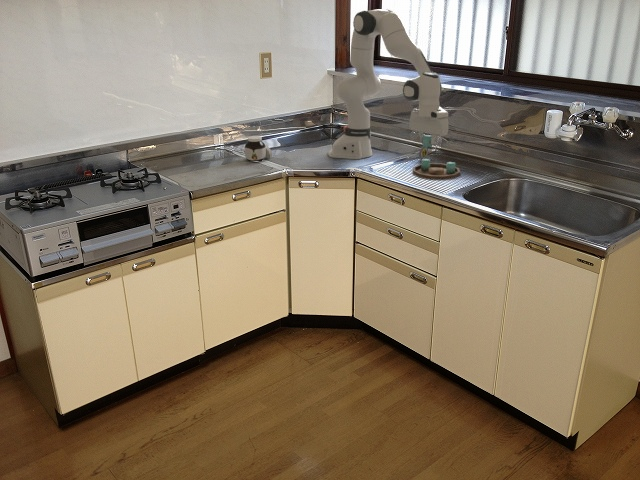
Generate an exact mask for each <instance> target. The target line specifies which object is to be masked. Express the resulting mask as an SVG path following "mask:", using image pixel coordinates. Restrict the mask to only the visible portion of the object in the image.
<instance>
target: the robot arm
mask: <svg viewBox="0 0 640 480" xmlns="http://www.w3.org/2000/svg"><path fill="white" fill-rule="evenodd" d="M352 23H353V32H352V35H351V43H350V56H349V63H350V66H351V67H352V68H354V69H355V72H356V76H352V77H348V78H347V77H346V78H345V79H342V80H340V81H339V82H338V83H337V85H336V93H337V96H338V98H340V100H341V101H342V102H343V103H344V105H345V107H346V111H347V125H344V127H343V134H342V135H341V136H340V137H338V138H337V139H336V140H335V141H333V145H332V149H330V150H329V151H328V152H327V153H328V157H329V158H334V159H335V158H336V159H337V158H338V159H348V160H349V159H350V160H361V159H364V158H368V157H369V158H370V157H372V156H373V151H372V145H371V137H372V136H371V135H372V130H371V111H370V110H369V108H367V107H366V106H365V104H364V99H369V98H373V97H375V96H376V95H379V94H380V93H381V91H382V82H381V80H380V78H379V76H377V75H376V72H375V68H374V56H375V55H374V53H375V52H374V51H375V40H376V37H377V36H378V35H380V36H381V38H382V41H383V44H384V46H385V49H386V50H387V52H388V53H389V55H391V56H392V57H394V58H398V59H401V60H405V61H407V62H409V63H411V65H412V66H413V67H414V68H415V70H416V72H417V74H418V76H417V77H414V78H410V79H407V80H406V81H405V82H404V83H403V88H402V93H403V97H404V99H406V100H407V101H409V102H417V101H418V108H413V109H412V110H411V111H410V117H409V123H408V124H409V125H408V127H409V130H411V131H417V132H418V136H419V139H420V143H421V142H422V143H423V136H424V134H425V133H426V134H430V135H431V136H432V139H431V140H430V142H429V143H430V144H432V145H434V144H435V143H436V142H435V141H436V138H437V137H438V136H440V137H443V136H447V135H448V134H449V124H450V123H449V119H448V117H449V112H448V110H445V109H444V108H442V107H441V106H440V96H441V93H442V88H443V87H442V86H443V85H442V82H441V79H440V75H439V74H438V73H437V72H434V71H433V70H432V67H431V66H430V64H429V62H428V60H427V58H426V57H425V55H424V53H423V51H422V50H421V49H420V47H419V46H418V45H416V43H414V41H413V40H412V38H411V37H410V35H409V33H408V31H407V28H406V26H405V24H404V23H403V20H402V19H401V17H400V16H399V14H397V13H396V12H395V11H393V10H392V9H379V8H378V9H377V8H376V9H372V10H370V9H369V10H362V11H359V12H357V13H356V14H355V15H354V17H353V22H352Z"/></svg>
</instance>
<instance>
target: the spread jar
mask: <svg viewBox="0 0 640 480" xmlns="http://www.w3.org/2000/svg"><path fill="white" fill-rule="evenodd" d="M272 156H273V152H272V150H271V148H270V147H269V146H267V145H266V144H265V142H264V141H263V140H262V136H260V135H251V136H248V137H247V141H246V142H245V145H244V158H245V160H247V161H248V162H250V161H261V162H263V161H264V160H265V159H271V158H272ZM262 160H263V161H262Z"/></svg>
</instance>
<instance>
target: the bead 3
mask: <svg viewBox="0 0 640 480" xmlns="http://www.w3.org/2000/svg"><path fill="white" fill-rule="evenodd" d="M446 164H447V165H446V173H447V174H454V173H455V167H456V164H457V163H456V162H452V161H448V162H446Z"/></svg>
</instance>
